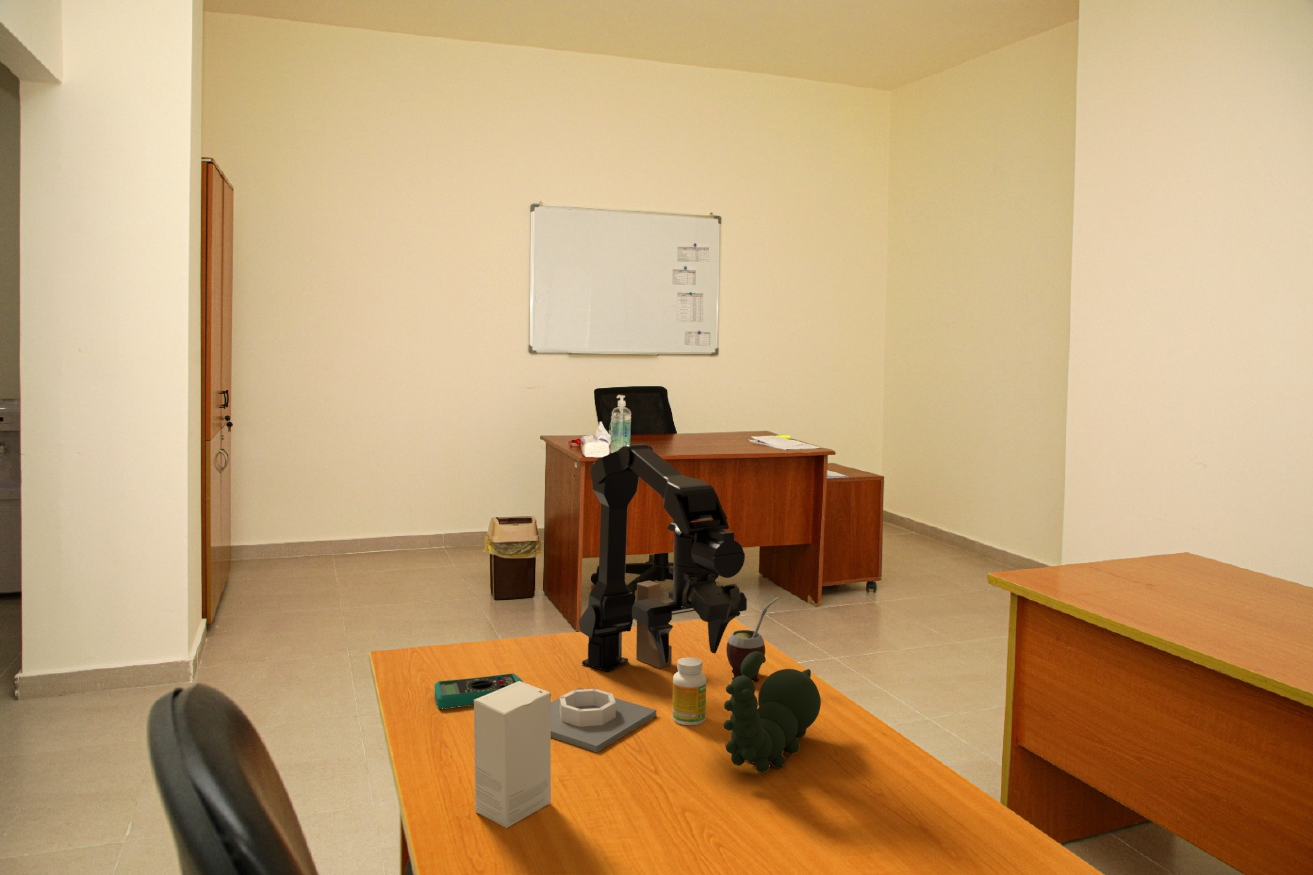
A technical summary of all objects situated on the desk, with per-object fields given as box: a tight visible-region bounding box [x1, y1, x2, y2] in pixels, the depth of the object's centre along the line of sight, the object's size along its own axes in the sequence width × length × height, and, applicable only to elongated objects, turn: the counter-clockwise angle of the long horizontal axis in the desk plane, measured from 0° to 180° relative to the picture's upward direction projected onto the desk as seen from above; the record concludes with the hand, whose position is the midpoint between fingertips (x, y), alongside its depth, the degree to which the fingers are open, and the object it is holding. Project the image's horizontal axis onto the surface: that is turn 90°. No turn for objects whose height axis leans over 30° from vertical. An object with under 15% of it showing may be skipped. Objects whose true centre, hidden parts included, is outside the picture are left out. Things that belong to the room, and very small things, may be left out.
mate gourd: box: [725, 597, 780, 683], centre depth 165 cm, size 8×8×15 cm
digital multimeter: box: [434, 672, 524, 710], centre depth 155 cm, size 7×15×3 cm, turn 109°
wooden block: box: [635, 580, 673, 669], centre depth 172 cm, size 7×3×15 cm, turn 43°
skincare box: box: [473, 681, 552, 829], centre depth 118 cm, size 8×7×16 cm
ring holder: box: [550, 687, 657, 753], centre depth 146 cm, size 16×16×4 cm
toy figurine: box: [723, 651, 822, 773], centre depth 135 cm, size 9×19×25 cm
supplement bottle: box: [671, 656, 707, 726], centre depth 146 cm, size 5×5×10 cm
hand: (689, 657), depth 146 cm, fingers open, 9 cm apart
